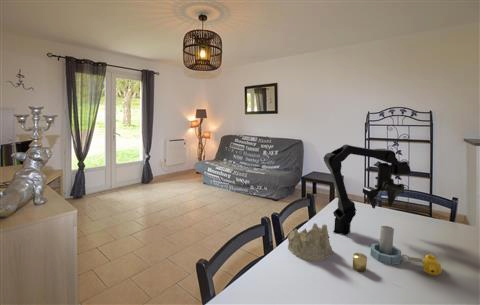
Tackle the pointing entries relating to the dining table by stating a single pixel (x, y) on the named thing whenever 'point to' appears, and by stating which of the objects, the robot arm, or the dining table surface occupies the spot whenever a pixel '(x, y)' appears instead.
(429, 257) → the pressure relief valve
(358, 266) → the short brass cylinder
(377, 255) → the collar
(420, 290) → the dining table surface
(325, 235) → the jagged beige rock
